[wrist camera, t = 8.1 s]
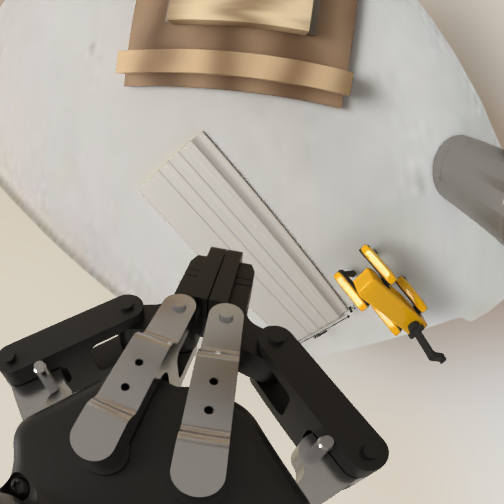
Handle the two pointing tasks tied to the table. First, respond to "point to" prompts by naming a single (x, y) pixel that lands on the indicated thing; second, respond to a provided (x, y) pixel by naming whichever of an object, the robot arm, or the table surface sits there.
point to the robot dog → (388, 299)
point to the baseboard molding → (242, 236)
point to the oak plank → (244, 14)
